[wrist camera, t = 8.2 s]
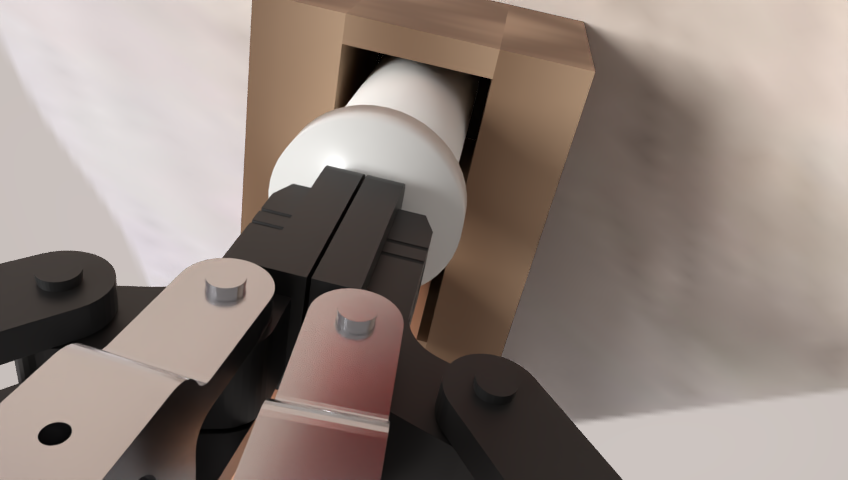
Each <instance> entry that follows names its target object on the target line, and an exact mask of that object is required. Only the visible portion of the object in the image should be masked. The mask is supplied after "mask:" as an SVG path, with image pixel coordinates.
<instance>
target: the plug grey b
mask: <svg viewBox="0 0 848 480" xmlns="http://www.w3.org/2000/svg"><path fill="white" fill-rule="evenodd" d="M479 78H480V77H479V76H477V75H472V74H468V73H464V72H460V71H455V70H451V69H447V68H443V67H438V66H434V65H430V64H426V63H421V62H417V61H413V60H409V59H404V58H400V57H396V56H392V55H387V54H385V55H384V56H383V58H382V59H381V60H380V62H379V63H378V64H377V66H376V67H375V68H374V70H373V71H372V72H371V74H370V75H369V76H368V77H367V79H366V80H365V81H364V83H363V84H362V85H361V87H360V88H359V89H358V91H357V92H356V93H355V95H354V96H353V97H352V99H351V100H350V101H349V102H348V104H347V105H346V106H345V107H342V108H337V109H335V110H332V111H329V112H327V113H325V114H323V115H321V116H319V117H317V118H316V119H314V120H313V121H312V122H310V123H309V124H308V125H306V126H305V127H304V128H303V129H302V131H301V132H300V133H299V134H298V135H297V136H296V137H295V138H294V140H293V141H292V142H291V143H290V144H289V145H288V147H287V148H286V149H285V150H284V152H283V153H282V155H281V156H280V157H279V159H278V161H277V163H276V165H275V167H274V169H273V172H272V175H271V179H270V184H269V197H270V196H271V195H272V194H273V193H274V192H277V191H279V190H281V189H283V188H285V187H287V186H289V185H291V184H297V185H301V186H306V187H310V188H311V187H312V185H313V184H314V182H315V181H316V179H317V178H318V176H319V175H320V173H321V172H322V170H323V169H324V168H325V166H327V165H329V166H333V167H337V168H341V169H345V170H349V171H354V172H358V173H362V174H365V177H366V176H367V175H371V176H375V177H379V178H383V179H387V180H392V181H396V182H400V183H404V184H405V192H404V198H403V203H402V208H401V210H405V211H409V212H414V213H418V214H422V215H426V217H427V219H428V222H429V224H430V226H431V229H432V231H433V234H432V238H431V243H430V247H429V251H428V256H427V260H426V265H425V269H424V273H423V278H422V282H421V286H422V285H424V284H425V283H427V282H429V281H430V280H432V279H433V278H434V277H435V276H437V275H438V274H439V273H440V272H441V271H442V270H443V269H444V268H445V267H446V266H447V264H448V263H449V261H450V260H451V259H452V257H453V255H454V253H455V251H456V249H457V247H458V244H459V241H460V238H461V233H462V229H463V224H464V219H465V214H466V208H467V192H466V184H465V180H464V176H463V173H462V170H461V168H460V166H459V160H460V156H461V153H462V149H463V145H464V141H465V138H466V134H467V130H468V126H469V123H470V119H471V115H472V111H473V107H474V104H475V100H476V96H477V92H478V88H479Z"/></svg>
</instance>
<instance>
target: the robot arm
mask: <svg viewBox="0 0 848 480" xmlns="http://www.w3.org/2000/svg"><path fill="white" fill-rule="evenodd" d="M404 192H405V184H404V183H400V182H396V181H392V180H387V179H383V178H379V177H375V176H371V175H367V176H366V177H365V174H362V173H358V172H354V171H349V170H345V169H341V168H337V167H333V166H329V165H327V166H325V168H324V169H323V170H322V172H321V173H320V175H319V176H318V178H317V179H316V181H315V182H314V184H313V185H312V187H311V188H310V187H306V186H301V185H297V184H291V185H289V186H287V187H285V188H283V189H281V190H279V191H277V192H274V193H273V194H272V195H271V196H270V197H269V199H268V200H267V201H266V202H265V204H264V205H263V206H262V208H261V211H258V213H257V214H256V215H255V217H254V218H253V219H252V223H249V224H248V226H247V227H246V228H245V229H244V231H243V232H242V233H241V235H240V236H239V237H238V238H237V240H236V241H235V242H234V244H233V245H232V246H231V247H230V249H229V250H228V251H227V253H226V254H225V255H224V256H223V258H215V259H209V260H204V261H201V262H198V263H196V264H193V265H191V266H189V267H188V268H186V269H185V270H184V271H182V272H181V273H180V274H179V275H178V276H177V277H176V278H175V279H174V280H173V281H172V282H171V283H170V284H169V285H168V286H167V287H136V286H117V283H116V274H115V270H114V268H113V266H112V265H111V264H110V263H109V262H108V261H106V260H105V259H103V258H101V257H99V256H97V255H94V254H90V253H86V252H80V251H56V252H49V253H44V254H39V255H35V256H30V257H26V258H22V259H18V260H14V261H10V262H6V263H2V264H0V365H2V364H5V363H8V362H11V361H14V360H15V366H16V371H17V376H18V382H19V384H16V385H14V386H10V387H8V388H5V389H2V390H0V480H231V479H232V477H233V476H234V478H233V480H622V479H621V477H620V476H619V475H618V474H617V473H616V472H615V470H614V469H613V468H612V467H611V466H610V465H609V464H608V462H607V461H606V460H605V459H604V458H603V457H602V455H601V454H600V453H599V452H598V451H597V450H596V449H595V447H594V446H593V445H592V444H591V443H590V442H589V441H588V440H587V438H586V437H585V436H584V435H583V434H582V432H581V431H580V430H579V429H578V428H577V427H576V425H575V424H574V423H573V422H572V421H571V420H570V419H569V417H568V416H567V415H566V414H565V413H564V412H563V410H562V409H561V408H560V407H559V406H558V405H557V404H556V402H555V401H554V400H553V399H552V398H551V397H550V395H549V394H548V393H547V392H546V391H545V390H544V389H543V387H542V386H541V385H540V384H539V383H538V382H537V380H536V379H535V378H534V377H533V376H532V375H531V374H530V373H529V372H528V371H526V370H525V369H524V368H523V367H521V366H520V365H518V364H516V363H515V362H512V361H510V360H508V359H506V358H503V357H500V356H496V355H491V354H470V355H465V356H462V357H459V358H458V359H456V360H454V361H453V362H452V363H448V362H446V361H444V360H442V359H440V358H439V357H437V356H435V355H434V354H432V353H430V352H429V351H428V350H426V349H425V348H424V347H423V346H422V345H421V344H420V343H419V342H418V341H417V340H416V338H415V337H414V335H413V333H412V331H411V329H410V324H411V321H412V317H413V314H414V310H415V306H416V303H417V299H418V295H419V291H420V287H421V282H422V278H423V273H424V269H425V265H426V260H427V256H428V251H429V247H430V243H431V238H432V234H433V231H432V229H431V226H430V224H429V222H428V219H427V217H426V215H422V214H418V213H414V212H409V211H405V210H401V208H402V203H403V198H404ZM275 389H276V390H278V392H277V394H276V397H275V399H271V397H272V395H273V393H274V391H275ZM235 472H236V473H235ZM234 474H235V475H234Z"/></svg>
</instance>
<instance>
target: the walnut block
mask: <svg viewBox="0 0 848 480" xmlns="http://www.w3.org/2000/svg"><path fill="white" fill-rule="evenodd" d="M377 52H379V53H383V54H387V55H392V56H396V57H400V58H404V59H409V60H413V61H417V62H421V63H426V64H430V65H434V66H438V67H443V68H447V69H451V70H455V71H460V72H464V73H468V74H472V75H477V76H481V77H485V78H489V79H491V81H490V85H489V89H488V93H487V97H486V101H485V105H484V109H483V113H482V117H481V121H480V125H479V129H478V133H477V137H476V140H474V139H470V138H465V141H464V145H463V149H462V153H461V156H460V160H459V166H460V168H461V170H462V173H463V176H464V180H465V184H466V192H467V208H466V214H465V219H464V224H463V229H462V233H461V238H460V241H459V244H458V247H457V249H456V251H455V253H454V255H453V257H452V259H451V260H450V261H449V263H448V264H447V266H446V267H445V268H444V269H443V270H442V271H441V272H440V273H439V274H438V275H437V276H435V277H434V278H433V279H432V280H431V284H430V288H429V292H428V296H427V299H426V303H425V307H424V311H423V315H422V319H421V323H420V327H419V331H418V335H417V338H416V340H417V341H418V342H419V343H420V344H421V345H422V346H423V347H424V348H425V349H426V350H428V351H429V352H430V353H432V354H434V355H435V356H437V357H439V358H440V359H442V360H444V361H446V362H448V363H452V362H453V361H454V360H456V359H458V358H459V357H462V356H465V355H470V354H491V355H496V356H500V357H501V355H502V352H503V349H504V346H505V343H506V340H507V337H508V334H509V331H510V328H511V325H512V322H513V319H514V316H515V313H516V310H517V307H518V304H519V300H520V297H521V294H522V291H523V288H524V285H525V282H526V279H527V276H528V273H529V270H530V267H531V264H532V261H533V258H534V255H535V252H536V249H537V246H538V243H539V240H540V237H541V234H542V231H543V228H544V225H545V222H546V219H547V216H548V213H549V210H550V207H551V204H552V201H553V198H554V195H555V192H556V189H557V186H558V183H559V180H560V177H561V174H562V171H563V168H564V165H565V162H566V159H567V156H568V153H569V150H570V147H571V144H572V141H573V138H574V135H575V132H576V129H577V126H578V123H579V120H580V117H581V114H582V111H583V108H584V105H585V102H586V99H587V96H588V93H589V90H590V86H591V83H592V80H593V77H594V74H595V68H594V64H593V59H592V55H591V51H590V47H589V42H588V38H587V34H586V29H585V25H584V22H582V21H577V20H573V19H569V18H564V17H560V16H556V15H551V14H547V13H543V12H538V11H534V10H530V9H526V8H521V7H517V6H513V5H508V4H504V3H500V2H495V1H491V0H252V15H251V36H250V56H249V76H248V97H247V117H246V137H245V158H244V178H243V199H242V219H241V233H242V232H243V231H244V229H245V228H246V227H247V226H248V224H249V223H252V219H253V218H254V217H255V215H256V214H257V213H258V211H261V208H262V206H263V205H264V204H265V202H266V201H267V200H268V199H269V184H270V179H271V175H272V172H273V169H274V167H275V165H276V163H277V161H278V159H279V157H280V156H281V155H282V153H283V152H284V150H285V149H286V148H287V147H288V145H289V144H290V143H291V142H292V141H293V140H294V138H295V137H296V136H297V135H298V134H299V133H300V132H301V131H302V129H303V128H304V127H305V126H306V125H308V124H309V123H310V122H312V121H313V120H314V119H316V118H317V117H319V116H321V115H323V114H325V113H327V112H329V111H332V110H335V109H337V108H342V107H345V106H346V105H347V104H348V102H349V101H350V100H351V99H352V97H353V96H354V95H355V93H356V92H357V91H358V89H359V88H360V87H361V85H362V84H363V83H364V81H365V80H366V79H367V77H368V76H369V75H370V74H371V72H372V71H373V70H374V68H375V65H376V59H377Z"/></svg>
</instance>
